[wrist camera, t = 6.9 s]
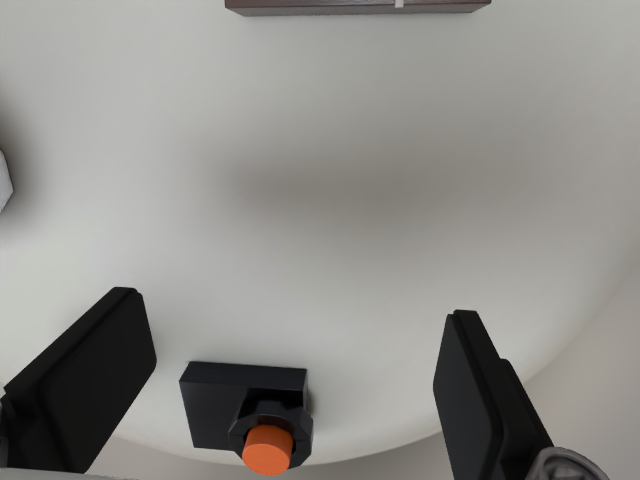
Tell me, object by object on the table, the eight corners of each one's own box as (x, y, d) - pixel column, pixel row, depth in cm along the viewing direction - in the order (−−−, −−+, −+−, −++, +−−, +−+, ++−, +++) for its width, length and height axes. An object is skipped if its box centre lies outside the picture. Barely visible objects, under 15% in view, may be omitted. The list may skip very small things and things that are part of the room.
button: (292, 425, 28) (288, 446, 26) (293, 455, 29) (290, 477, 28) (246, 421, 28) (239, 442, 27) (250, 451, 30) (244, 473, 28)
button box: (315, 369, 30) (310, 410, 26) (316, 435, 33) (311, 479, 30) (189, 361, 31) (167, 399, 27) (203, 425, 34) (184, 467, 31)
